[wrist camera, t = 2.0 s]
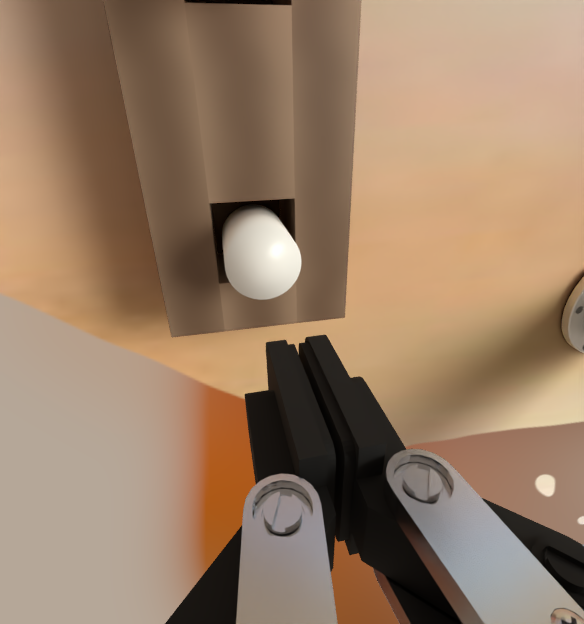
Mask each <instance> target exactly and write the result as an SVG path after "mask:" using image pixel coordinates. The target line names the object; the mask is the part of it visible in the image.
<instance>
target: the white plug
mask: <svg viewBox="0 0 584 624" xmlns="http://www.w3.org/2000/svg"><path fill="white" fill-rule="evenodd" d="M222 242H223V253H224V263H225V271H226V275H227V278H228V280H229V282H230V283H231V285H232V286H233V287H234V288H235V289H236V290H237V291H238V292H239V293H241V294H242V295H244V296H246V297H249V298H252V299H259V300H265V299H271V298H275V297H277V296H280V295H281V294H283V293H285V292H286V291H287V290H289V289H290V288H291V287H292V285H293V284H294V283H295V281H296V280H297V278H298V276H299V273H300V270H301V254H300V251H299V248H298V246H297V244H296V243H295V241H294V240H293V238H292V237H291V235H290V234H289V232H288V231H287V230H286V228H285V227H284V225H283V224H282V222H281V221H280V219H279V218H278V217H277V215H276V214H275V213H274V212H273V211H271V210H270V209H268V208H266V207H264V206H261V205H255V204H251V205H245V206H242V207H239V208H238V209H236V210H234V211H233V212H232V213H231V214H230V215H229V216H228V218H227V219H226V221H225V223H224V225H223V229H222Z"/></svg>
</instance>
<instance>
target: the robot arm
mask: <svg viewBox="0 0 584 624" xmlns="http://www.w3.org/2000/svg"><path fill="white" fill-rule="evenodd" d="M562 332H563V336H564V338H565V340H566V341H567V343H568V344H570V345H571V346H572V347H573V348H575V349H576V350H578V351H580V352H582V353H584V276H583V278H582V279H581V280H580V281H579V283H578V284H577V285H576V287H575V288H574V290H573V292H572V293H571V295H570V297H569V298H568V301H567V303H566V306H565V308H564V312H563V316H562ZM266 357H267V373H268V389H269V390H267V391H261V392H254V393H248V394H245V402H246V412H247V420H248V430H249V438H250V445H251V452H252V460H253V467H254V474H255V482H256V485H255V486H254V487H253V488H252V489H251V491H250V492H249V494H248V496H247V497H246V500H245V505H244V510H243V524H242V526H241V527H240V529H239V530H238V531H237V533H236V534H235V535H234V536H233V538H232V539H231V540H230V541H229V543H228V544H227V545H226V547H225V548H224V549H223V550H222V552H221V553H220V554H219V555H218V557H217V558H216V559H215V561H214V562H213V563H212V564H211V566H210V567H209V568H208V570H207V571H206V572H205V573H204V575H203V576H202V577H201V578H200V580H199V581H198V582H197V584H196V585H195V586H194V588H193V589H192V590H191V591H190V593H189V594H188V595H187V597H186V598H185V599H184V600H183V602H182V603H181V604H180V605H179V607H178V608H177V609H176V611H175V612H174V613H173V615H172V616H171V617H170V618H169V619H168V621H167V622H166V623H165V624H337V616H336V609H335V602H334V594H333V587H332V581H331V571H332V569H333V559H334V543H335V536H336V539H337V541H338V542H339V541H344V540H345V543H346V546H347V549H348V551H349V555H352V554H356V553H359V554H360V557H361V560H362V561H363V562H365V563H366V564H368V565H369V566H371V567H373V569H374V573H375V576H376V578H377V581H378V583H379V585H380V586H381V588H382V590H383V593H384V594H385V596H386V598H387V600H388V602H389V604H390V606H391V608H392V610H393V612H394V614H395V616H396V618H397V619H398V621H399V623H400V624H584V545H582V544H580V543H578V542H576V541H575V540H573V539H571V538H569V537H567V536H565V535H563V534H561V533H559V532H556V531H554V530H552V529H550V528H547V527H545V526H543V525H541V524H538V523H536V522H534V521H532V520H530V519H527V518H525V517H523V516H521V515H518V514H516V513H514V512H512V511H510V510H507V509H505V508H503V507H501V506H498V505H496V504H494V503H492V502H490V501H487V500H485V499H483V498H481V497H480V496H479V495H478V494H477V493H476V492H475V491H474V490H473V489H472V487H471V486H470V485H469V484H468V483H467V482H466V481H465V480H464V478H463V477H462V476H461V475H460V474H459V473H458V472H457V471H456V470H455V469H454V467H452V466H451V465H450V464H449V463H448V462H447V461H446V460H445V459H443V458H441V457H440V456H438V455H436V454H434V453H432V452H428V451H425V450H421V449H408V450H406V448H405V446H404V445H403V443H402V441H401V440H400V438H399V436H398V435H397V433H396V431H395V430H394V428H393V427H392V425H391V423H390V422H389V420H388V418H387V417H386V415H385V413H384V412H383V410H382V408H381V407H380V405H379V403H378V402H377V400H376V399H375V397H374V395H373V394H372V392H371V390H370V389H369V387H368V385H367V384H366V382H365V381H364V379H363V378H362V377H353V378H350V377H349V375H348V373H347V371H346V370H345V368H344V366H343V364H342V362H341V361H340V359H339V357H338V355H337V353H336V352H335V350H334V348H333V346H332V344H331V343H330V341H329V339H328V337H327V336H326V335H319V336H312V337H306V339H305V343H299V355H298V352H297V350H296V347H295V345H294V344H290V345H288V344H287V341H286V340H280V341H273V342H266Z"/></svg>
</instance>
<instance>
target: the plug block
mask: <svg viewBox="0 0 584 624" xmlns="http://www.w3.org/2000/svg"><path fill="white" fill-rule="evenodd" d="M103 2H104V7H105V11H106V16H107V21H108V26H109V31H110V36H111V41H112V46H113V51H114V56H115V61H116V66H117V71H118V75H119V80H120V85H121V90H122V95H123V100H124V105H125V110H126V115H127V120H128V125H129V130H130V135H131V140H132V144H133V149H134V154H135V159H136V164H137V169H138V174H139V179H140V184H141V189H142V194H143V199H144V204H145V208H146V213H147V218H148V223H149V228H150V233H151V238H152V243H153V248H154V253H155V258H156V263H157V268H158V272H159V277H160V282H161V287H162V292H163V297H164V302H165V307H166V312H167V317H168V322H169V327H170V332H171V337H179V336H188V335H197V334H205V333H214V332H223V331H232V330H240V329H249V328H258V327H266V326H275V325H284V324H293V323H301V322H310V321H319V320H327V319H336V318H345V304H346V285H347V266H348V247H349V228H350V208H351V189H352V170H353V151H354V132H355V113H356V94H357V74H358V55H359V36H360V17H361V0H272V5H255V4H217V3H187V0H103ZM275 199H279V206H280V221H281V222H282V224H283V225H284V227H285V228H286V230H287V231H288V232H289V234H290V235H291V237H292V238H293V240H294V241H295V243H296V244H297V246H298V248H299V251H300V254H301V270H300V273H299V276H298V278H297V280H296V281H295V283H294V284H293V285H292V287H291V288H290V289H289V290H287V291H286V292H285V293H283V294H281V295H280V296H277V297H275V298H271V299H265V300H259V299H252V298H249V297H246V296H244V295H242V294H241V293H239V292H238V291H237V290H236V289H235V288H234V287H233V286H232V285H231V283H230V282H229V280H228V278H227V275H226V271H225V263H224V253H223V254H218V253H217V245H216V237H215V228H214V220H213V212H212V203H225V202H241V201H258V200H275Z"/></svg>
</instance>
